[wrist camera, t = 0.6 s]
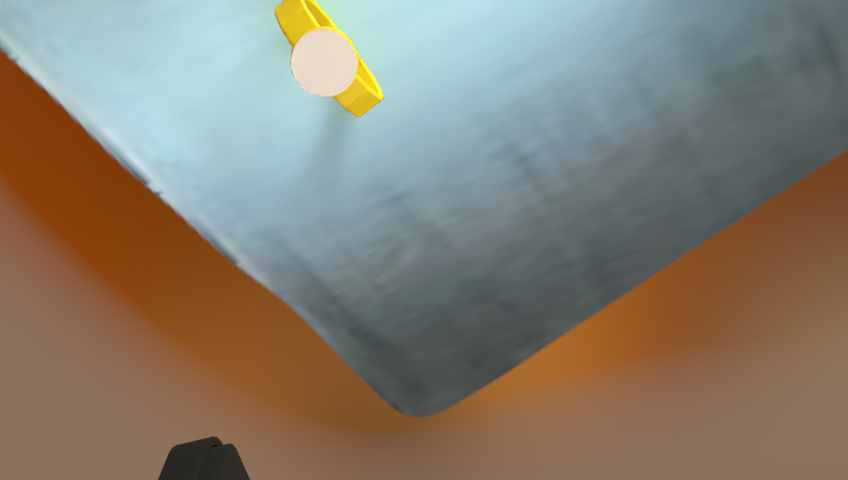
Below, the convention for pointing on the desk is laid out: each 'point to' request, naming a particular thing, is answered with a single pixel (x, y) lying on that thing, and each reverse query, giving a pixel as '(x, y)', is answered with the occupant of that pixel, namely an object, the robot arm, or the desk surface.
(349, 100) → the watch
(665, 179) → the desk surface
